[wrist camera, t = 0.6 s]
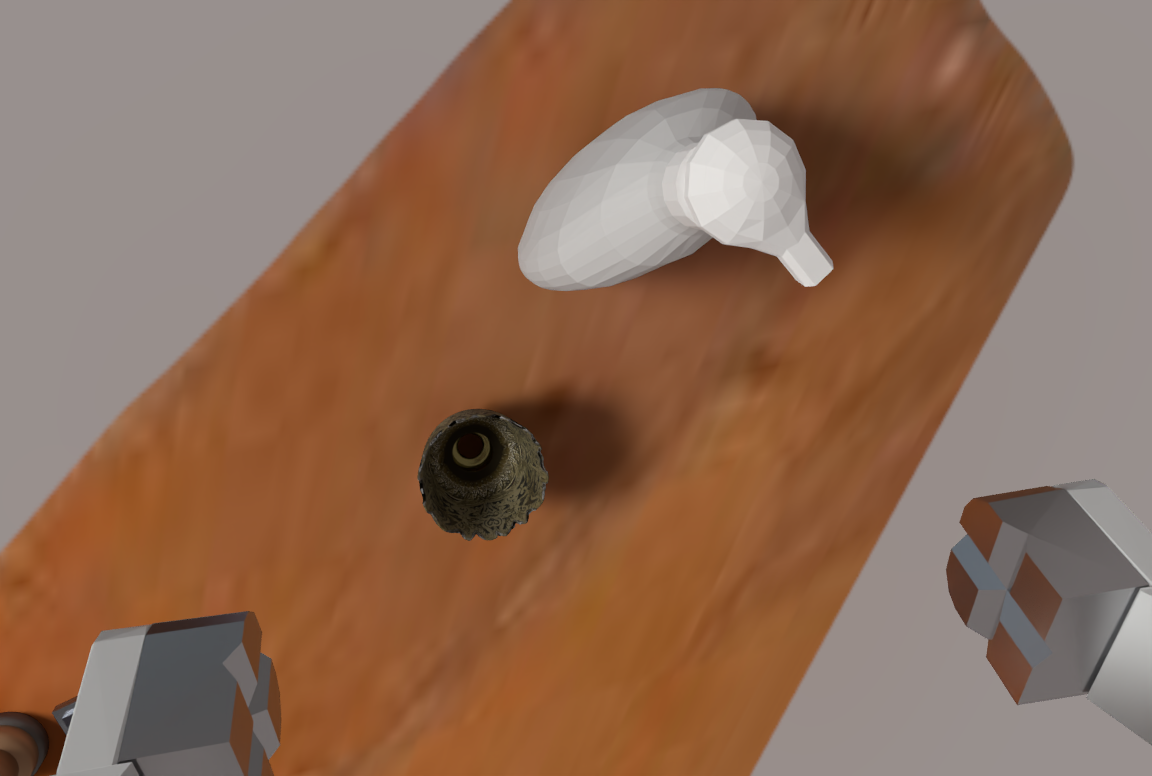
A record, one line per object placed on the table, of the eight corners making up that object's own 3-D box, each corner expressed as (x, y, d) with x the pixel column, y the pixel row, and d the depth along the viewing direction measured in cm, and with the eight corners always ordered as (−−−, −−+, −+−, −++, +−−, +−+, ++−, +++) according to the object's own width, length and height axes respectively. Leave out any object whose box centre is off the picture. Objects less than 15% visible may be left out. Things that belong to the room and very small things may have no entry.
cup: (534, 488, 63) (557, 527, 55) (424, 511, 62) (431, 554, 54) (516, 379, 62) (537, 404, 54) (403, 401, 60) (407, 429, 53)
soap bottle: (559, 325, 61) (699, 412, 36) (474, 232, 59) (556, 251, 33) (721, 173, 62) (976, 148, 36) (642, 74, 60) (853, -28, 34)
